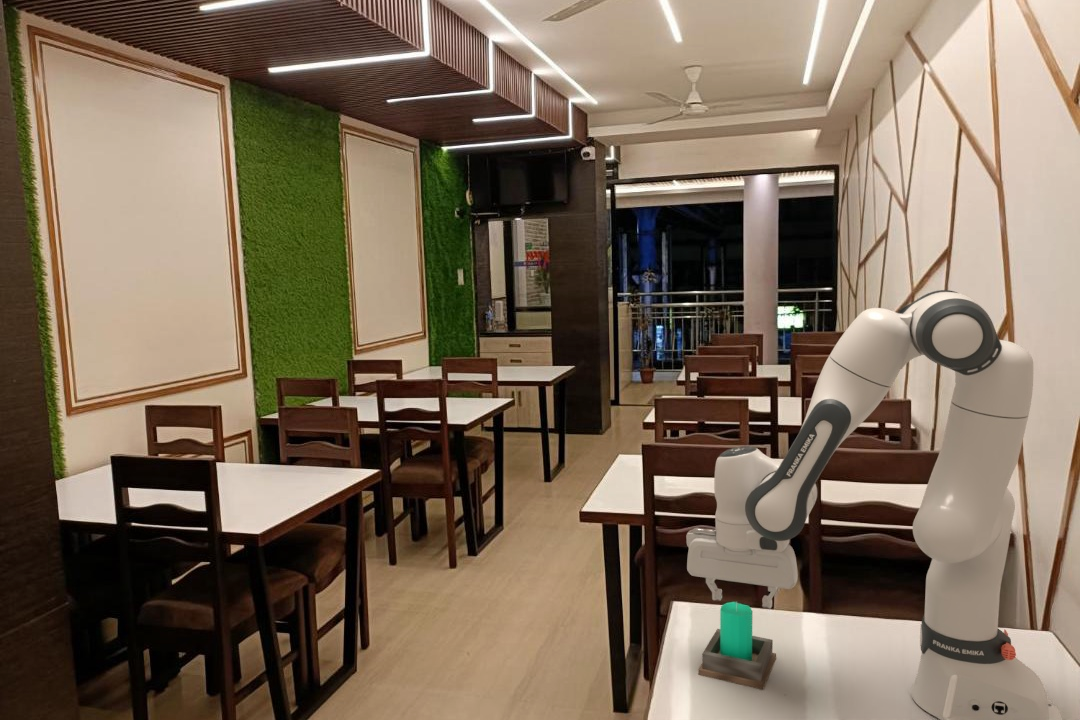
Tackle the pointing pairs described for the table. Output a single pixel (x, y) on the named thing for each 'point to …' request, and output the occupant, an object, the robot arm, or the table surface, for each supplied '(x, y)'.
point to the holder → (739, 663)
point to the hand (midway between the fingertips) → (741, 603)
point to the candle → (736, 631)
